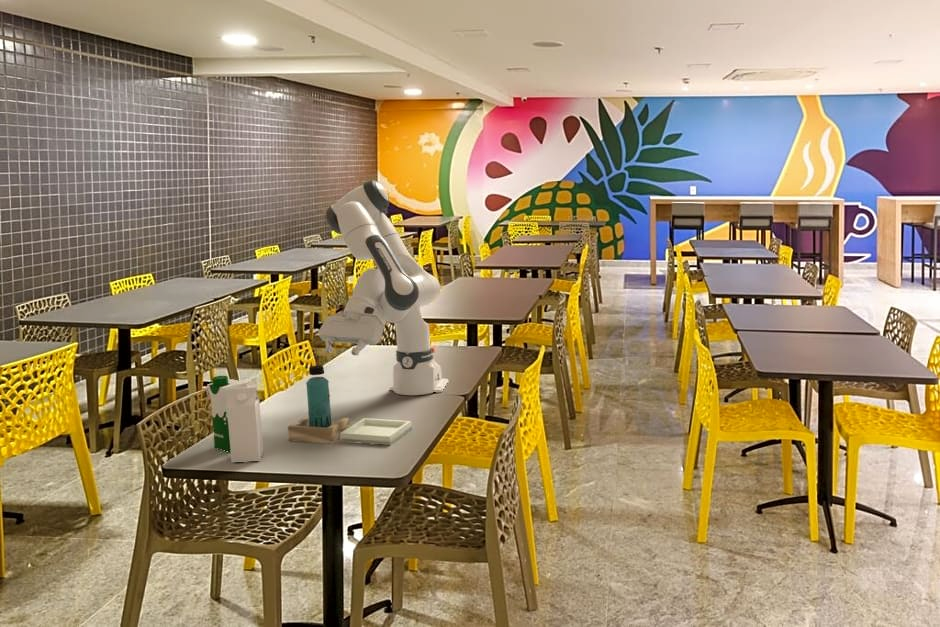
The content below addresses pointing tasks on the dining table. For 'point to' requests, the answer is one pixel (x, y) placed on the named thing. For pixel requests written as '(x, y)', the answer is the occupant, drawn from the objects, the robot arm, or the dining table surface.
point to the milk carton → (244, 425)
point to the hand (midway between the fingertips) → (340, 353)
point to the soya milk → (221, 408)
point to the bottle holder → (316, 431)
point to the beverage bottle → (318, 399)
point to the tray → (376, 431)
